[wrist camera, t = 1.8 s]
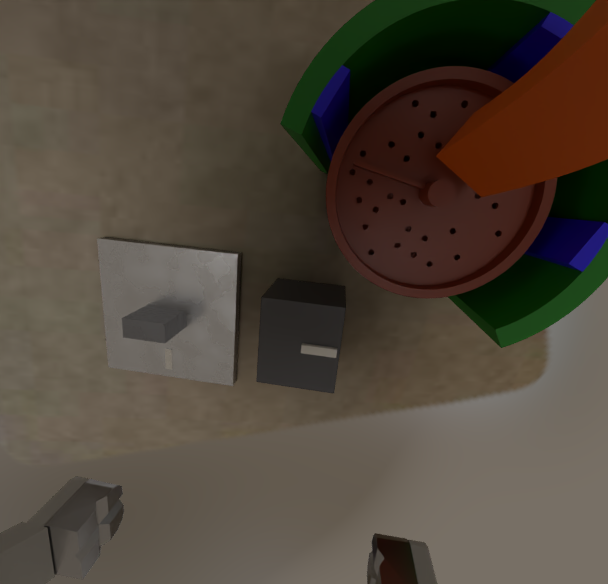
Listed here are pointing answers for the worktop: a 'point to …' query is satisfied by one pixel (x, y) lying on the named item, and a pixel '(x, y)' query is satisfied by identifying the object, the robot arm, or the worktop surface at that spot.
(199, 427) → the worktop surface
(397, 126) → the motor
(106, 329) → the shaft plate
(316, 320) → the dark grey cube
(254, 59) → the worktop surface
